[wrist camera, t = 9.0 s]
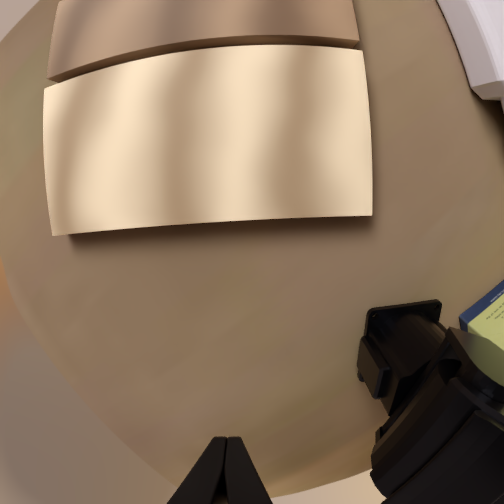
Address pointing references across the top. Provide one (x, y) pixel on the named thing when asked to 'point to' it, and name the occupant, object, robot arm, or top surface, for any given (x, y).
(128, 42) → the walnut board
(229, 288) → the top surface
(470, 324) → the protein box
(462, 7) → the charger
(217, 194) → the oak plank
